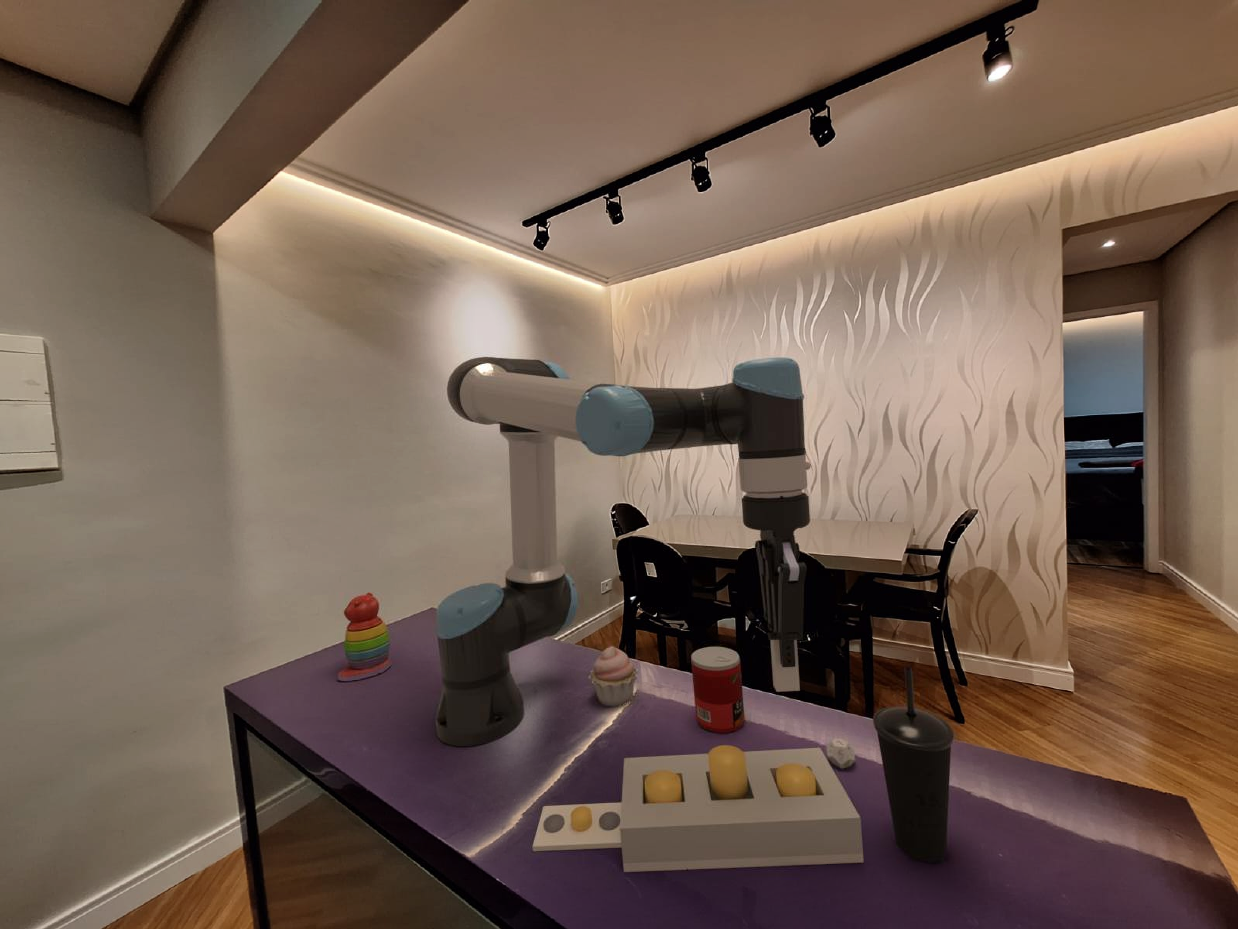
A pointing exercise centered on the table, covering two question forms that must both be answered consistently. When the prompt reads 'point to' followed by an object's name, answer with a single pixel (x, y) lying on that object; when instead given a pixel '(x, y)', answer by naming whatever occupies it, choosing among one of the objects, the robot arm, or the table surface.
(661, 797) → the button left
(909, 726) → the drinking cup
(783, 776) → the button right
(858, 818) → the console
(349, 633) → the stacking bear
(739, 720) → the canned food
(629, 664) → the cupcake
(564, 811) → the pattern card
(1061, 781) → the table surface
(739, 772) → the button mid
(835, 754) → the game die
